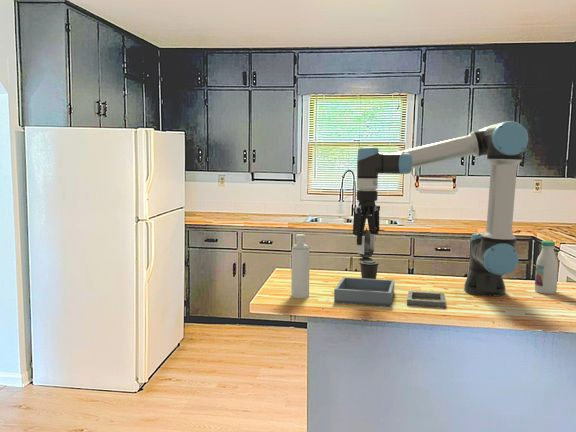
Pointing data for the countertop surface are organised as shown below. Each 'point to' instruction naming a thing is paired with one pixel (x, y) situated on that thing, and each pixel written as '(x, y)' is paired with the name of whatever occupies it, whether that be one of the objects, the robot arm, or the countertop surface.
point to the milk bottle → (546, 269)
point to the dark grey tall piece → (366, 247)
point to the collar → (426, 302)
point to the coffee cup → (369, 269)
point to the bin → (364, 291)
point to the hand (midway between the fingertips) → (365, 252)
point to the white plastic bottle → (300, 268)
